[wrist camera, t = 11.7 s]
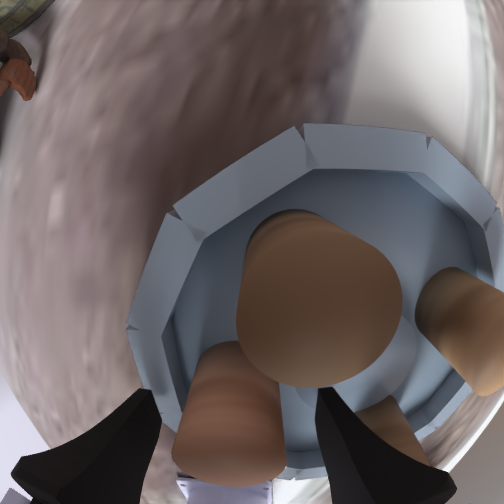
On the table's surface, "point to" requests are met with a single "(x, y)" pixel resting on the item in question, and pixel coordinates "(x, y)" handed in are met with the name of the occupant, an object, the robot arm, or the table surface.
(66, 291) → the table surface
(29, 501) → the robot arm
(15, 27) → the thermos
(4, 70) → the pottery mug
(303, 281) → the tan wooden peg
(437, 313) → the bead
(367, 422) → the tan rounded cylinder
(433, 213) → the ring tray
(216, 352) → the reddish brown cylinder
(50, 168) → the table surface
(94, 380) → the table surface
